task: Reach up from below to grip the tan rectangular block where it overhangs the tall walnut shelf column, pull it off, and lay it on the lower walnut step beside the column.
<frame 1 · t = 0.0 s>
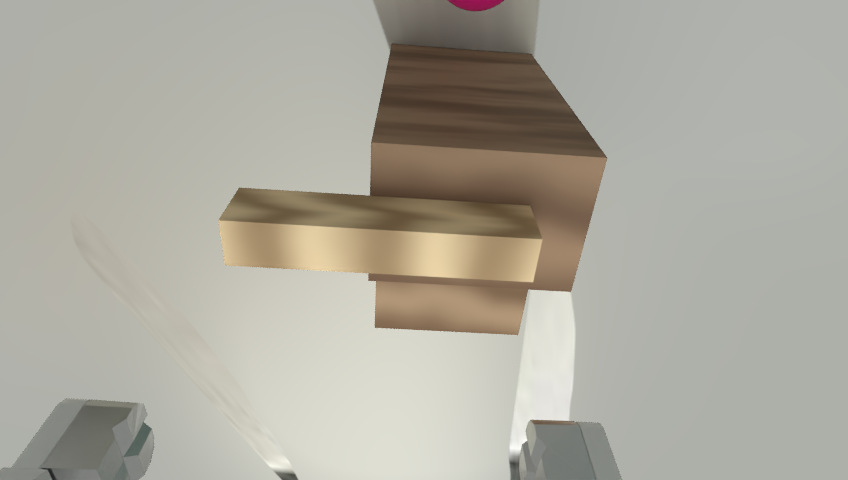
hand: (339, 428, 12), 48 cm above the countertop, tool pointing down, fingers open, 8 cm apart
step shelf: (450, 156, 60), on the countertop
tan rectangular block: (385, 217, 34), point 26 cm above the countertop, touching step shelf
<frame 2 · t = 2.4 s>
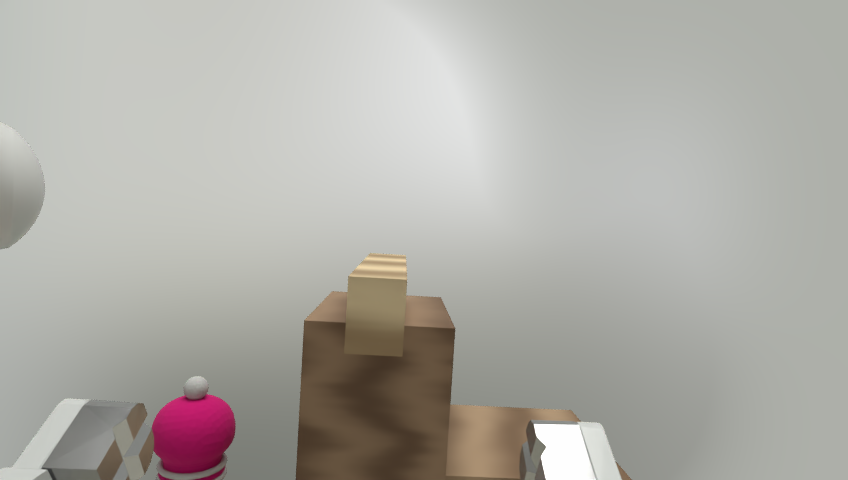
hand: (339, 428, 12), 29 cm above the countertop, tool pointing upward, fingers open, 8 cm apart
tan rectangular block: (380, 321, 37), point 26 cm above the countertop, touching step shelf
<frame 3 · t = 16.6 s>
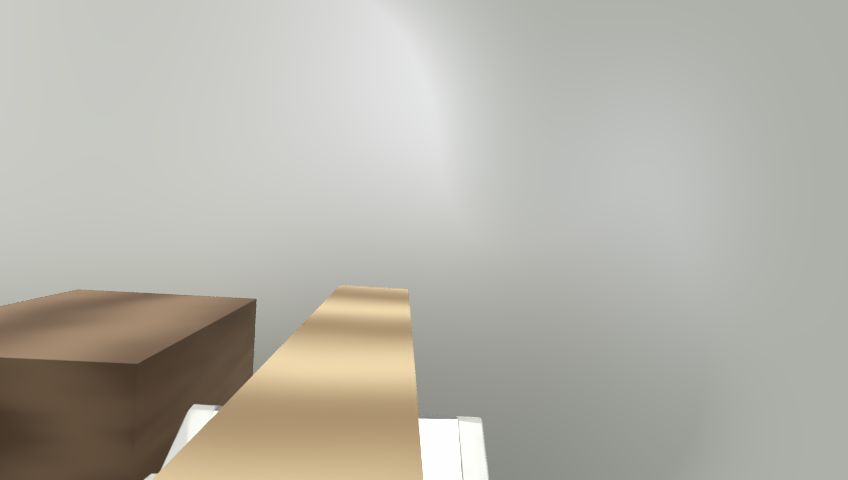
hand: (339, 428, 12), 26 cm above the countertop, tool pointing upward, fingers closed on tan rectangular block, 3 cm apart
tan rectangular block: (348, 471, 15), point 24 cm above the countertop, touching gripper
when the fingers open (19 cm above the countertop, at t = 19.7 s): tan rectangular block stays where it is, resting on step shelf.
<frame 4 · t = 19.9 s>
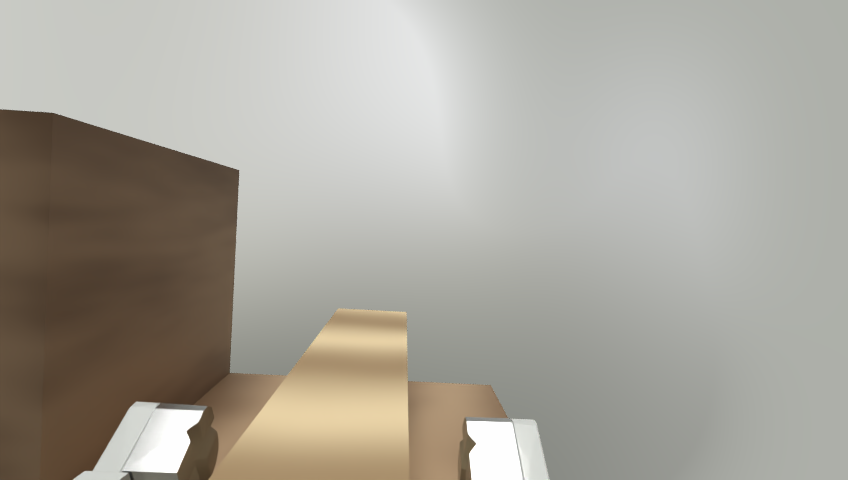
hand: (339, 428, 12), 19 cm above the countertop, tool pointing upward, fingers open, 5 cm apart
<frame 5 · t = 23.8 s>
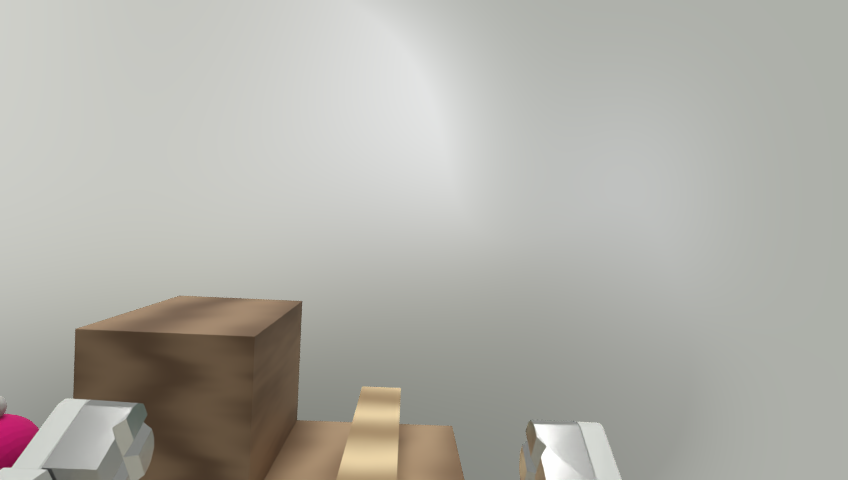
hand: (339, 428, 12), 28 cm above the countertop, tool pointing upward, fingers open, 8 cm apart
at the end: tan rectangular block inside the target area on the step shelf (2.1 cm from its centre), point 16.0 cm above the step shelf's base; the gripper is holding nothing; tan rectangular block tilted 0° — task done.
